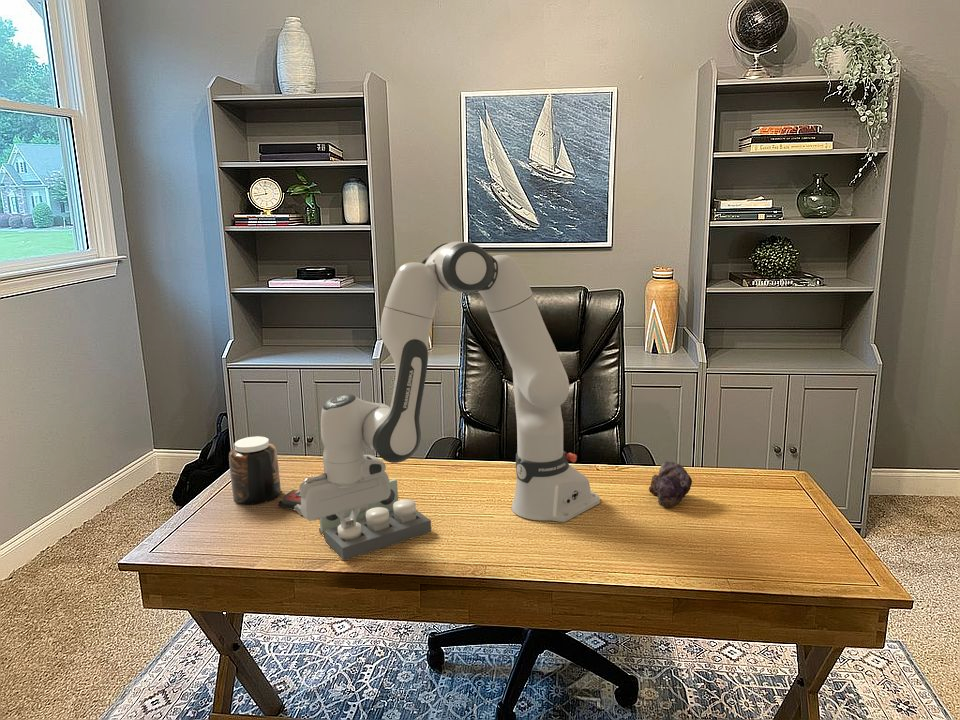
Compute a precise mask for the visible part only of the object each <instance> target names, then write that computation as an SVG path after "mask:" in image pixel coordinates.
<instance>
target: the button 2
mask: <svg viewBox="0 0 960 720" xmlns="http://www.w3.org/2000/svg"><path fill="white" fill-rule="evenodd" d="M416 505H417V504H416V501H415V500H412V499H398V501H396V502H395V503H394V504H393V511H394V519H395V520H396V521H397V522H399V523H400V524H402V523H406V522H409V521H412V520H415V519H416V510H417V507H416Z"/></svg>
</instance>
